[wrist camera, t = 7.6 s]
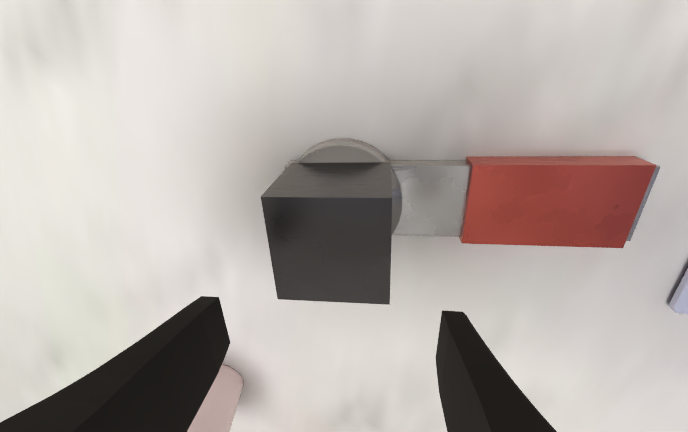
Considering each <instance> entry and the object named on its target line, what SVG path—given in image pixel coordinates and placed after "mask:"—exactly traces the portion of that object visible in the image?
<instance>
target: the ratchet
mask: <svg viewBox="0 0 688 432" xmlns="http://www.w3.org/2000/svg"><path fill="white" fill-rule="evenodd" d="M343 162H391V179H392V229H391V235H392V234H393V235H429V236H459V238H460V240H461V243H471V244H505V245H538V246H572V247H606V248H623V247H624V244H625V242H626V241H630V239H631V237H632V235H633V232H634V230H635V227H636V225H637V222H638V220H639V218H640V215H641V213H642V210H643V208H644V205H645V203H646V201H647V198H648V196H649V193H650V191H651V188H652V186H653V184H654V181H655V179H656V176H657V174H658V171H659V169H660V166H657V165H655V164H652V163H650V162H647V161H645V160H642V159H640V158H637V157H635V156H604V157H467V158H466V160H388V158H387V157H386V156H385V155H384V154H383V153H381V152H380V151H379V150H378V149H376V148H375V147H373V146H371V145H369V144H367V143H365V142H362V141H359V140H354V139H345V138H341V139H332V140H327V141H325V142H322V143H319V144H317V145H316V146H314V147H312V148H311V149H309V150H308V151H307V152H306V153H305V154H304V155H303V156H302V157H301V158H300V159H299V160H290V161H289V162H288V163H287V164H286V165H285V169H286V168H287V167H288V166H289V165H290V164H291V163H343Z"/></svg>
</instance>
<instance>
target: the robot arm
mask: <svg viewBox="0 0 688 432" xmlns="http://www.w3.org/2000/svg"><path fill="white" fill-rule="evenodd" d="M669 306H670V308H671V309H672V310H673V311H674V312H676V313H679V314H688V269H687V271H686V273H685V275H684V277H683V278H682V280H681V282H680V284H679V286H678V288H677V290H676V292H675V294H674V296H673V298H672V300H671V301H670V304H669ZM229 344H230V340H229V336H228V332H227V328H226V324H225V320H224V316H223V312H222V308H221V304H220V300H219V297H204V296H201V297H200V298H198V299H197V300H195V301H194V302H192V303H191V304H189V305H188V306H187V307H185V308H184V309H182V310H181V311H180V312H178V313H177V314H176V315H174V316H173V317H171V318H170V319H169V320H167V321H166V322H164V323H163V324H162V325H160V326H159V327H157V328H156V329H155V330H153V331H152V332H150V333H149V334H148V335H146V336H145V337H143V338H142V339H141V340H139V341H138V342H136V343H135V344H133V345H132V346H130V347H129V348H127V349H126V350H124V351H123V352H121V353H120V354H118V355H117V356H115V357H114V358H112V359H111V360H109V361H108V362H106V363H105V364H103V365H102V366H100V367H99V368H97V369H96V370H94V371H92V372H91V373H89V374H87V375H86V376H84V377H83V378H81V379H79V380H78V381H76V382H74V383H72V384H71V385H69V386H67V387H66V388H64V389H62V390H60V391H59V392H57V393H55V394H53V395H52V396H50V397H48V398H46V399H44V400H42V401H41V402H39V403H37V404H35V405H33V406H31V407H29V408H27V409H25V410H23V411H21V412H20V413H18V414H16V415H14V416H12V417H10V418H8V419H6V420H4V421H2V422H1V423H0V432H187V431H188V429H189V427H190V425H191V423H192V421H193V419H194V418H195V416H196V414H197V412H198V410H199V408H200V407H201V405H202V403H203V401H204V399H205V397H206V395H207V394H208V392H209V390H210V388H211V386H212V384H213V382H214V380H215V378H216V376H217V374H218V372H219V370H220V368H221V365H222V363H223V360H224V358H225V355H226V352H227V350H228V347H229ZM436 366H437V376H438V385H439V393H440V398H441V403H442V408H443V412H444V417H445V422H446V426H447V431H448V432H556V430H555V429H554V428H553V427H552V426H551V425H550V424H549V423H548V422H547V420H546V419H545V418H544V417H543V416H542V415H541V414H540V413H539V411H538V410H537V409H536V408H535V407H534V406H533V404H532V403H531V402H530V401H529V400H528V398H527V397H526V396H525V395H524V394H523V392H522V391H521V390H520V389H519V388H518V386H517V385H516V384H515V383H514V381H513V380H512V379H511V378H510V376H509V375H508V374H507V372H506V371H505V370H504V368H503V367H502V366H501V364H500V363H499V362H498V361H497V359H496V358H495V357H494V355H493V354H492V352H491V351H490V350H489V348H488V347H487V345H486V344H485V343H484V341H483V340H482V338H481V337H480V335H479V334H478V333H477V331H476V330H475V328H474V327H473V325H472V324H471V322H470V320H469V319H468V317H467V316H466V315H465V314H464V313H463V312H455V311H442V316H441V323H440V331H439V338H438V345H437V353H436Z"/></svg>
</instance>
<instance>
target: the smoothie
mask: <svg viewBox="0 0 688 432" xmlns="http://www.w3.org/2000/svg"><path fill="white" fill-rule="evenodd" d="M242 387H243V379H242V377H241V376H240V374H239V373H238V372H236V371H235V370H234V369H232V368H230V367H228V366H226V365H221V368H220V370H219V372H218V374H217V376H216V378H215V380H214V382H213V384H212V386H211V388H210V390H209V392H208V394H207V395H206V397H205V399H204V401H203V403H202V405H201V407H200V408H199V410H198V412H197V414H196V416H195V418H194V419H193V421H192V423H191V425H190V427H189V429H188V431H187V432H229V431H230V428H231V425H232V421H233V418H234V415H235V411H236V408H237V404H238V401H239V398H240V394H241V391H242Z"/></svg>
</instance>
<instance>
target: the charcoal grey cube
mask: <svg viewBox="0 0 688 432" xmlns="http://www.w3.org/2000/svg"><path fill="white" fill-rule="evenodd" d="M261 200H262V206H263V212H264V218H265V224H266V230H267V236H268V243H269V249H270V255H271V261H272V267H273V273H274V279H275V285H276V291H277V297H278V299H286V300H307V301H328V302H349V303H370V304H389V303H390V266H391V229H392V179H391V162H343V163H291V164H290V165H289V166H288V167H287V168H286V169H285V171H284V172H283V173H282V174H281V175H280V176H279V177H278V178H277V180H276V181H275V182H274V183H273V184H272V185H271V186H270V187H269V188H268V190H267V191H266V192H265V193H264V194H263V195H262V196H261Z"/></svg>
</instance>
